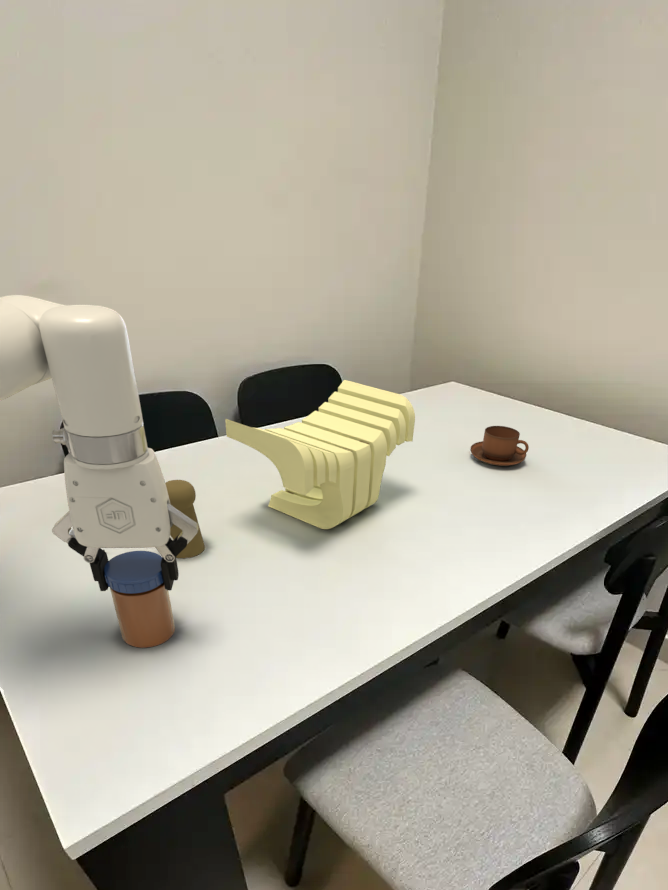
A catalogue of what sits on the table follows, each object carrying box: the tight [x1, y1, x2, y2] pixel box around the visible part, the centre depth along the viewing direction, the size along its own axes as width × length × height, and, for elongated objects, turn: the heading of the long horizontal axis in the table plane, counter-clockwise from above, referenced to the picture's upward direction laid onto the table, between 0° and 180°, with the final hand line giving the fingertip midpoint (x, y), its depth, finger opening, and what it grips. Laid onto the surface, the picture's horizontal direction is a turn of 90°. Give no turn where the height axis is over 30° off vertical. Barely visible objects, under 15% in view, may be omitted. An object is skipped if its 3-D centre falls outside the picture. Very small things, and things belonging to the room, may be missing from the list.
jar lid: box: [104, 550, 164, 594], centre depth 70 cm, size 7×7×2 cm
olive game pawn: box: [165, 479, 206, 559], centre depth 89 cm, size 6×6×11 cm
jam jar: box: [109, 582, 176, 649], centre depth 73 cm, size 7×7×9 cm
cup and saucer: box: [470, 425, 530, 467], centre depth 125 cm, size 12×12×6 cm
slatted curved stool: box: [224, 379, 416, 530], centre depth 100 cm, size 30×16×18 cm, turn 143°
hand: (138, 583), depth 71 cm, fingers closed on jar lid, 6 cm apart
